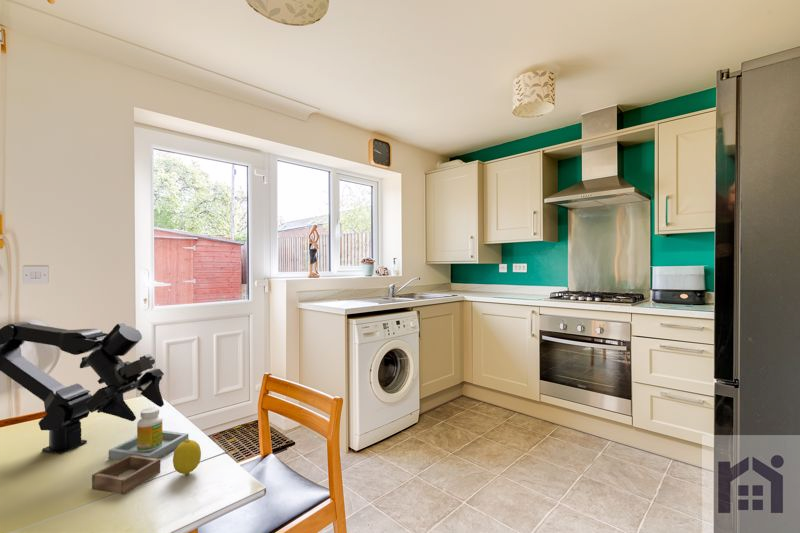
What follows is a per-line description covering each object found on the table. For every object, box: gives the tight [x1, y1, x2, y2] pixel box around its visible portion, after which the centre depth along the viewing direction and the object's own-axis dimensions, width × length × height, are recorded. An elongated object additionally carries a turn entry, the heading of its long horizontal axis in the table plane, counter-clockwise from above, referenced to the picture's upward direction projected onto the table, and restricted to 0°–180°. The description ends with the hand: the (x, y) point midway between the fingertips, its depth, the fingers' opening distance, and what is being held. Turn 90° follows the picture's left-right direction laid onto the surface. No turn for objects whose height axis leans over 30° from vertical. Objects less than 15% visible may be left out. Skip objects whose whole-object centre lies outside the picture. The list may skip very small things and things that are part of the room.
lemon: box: [172, 438, 202, 476], centre depth 82 cm, size 6×6×8 cm
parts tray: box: [108, 429, 189, 462], centre depth 93 cm, size 12×12×2 cm
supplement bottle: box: [136, 406, 163, 452], centre depth 93 cm, size 5×5×10 cm
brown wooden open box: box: [91, 455, 161, 496], centre depth 80 cm, size 9×9×3 cm
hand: (149, 412), depth 93 cm, fingers open, 9 cm apart
